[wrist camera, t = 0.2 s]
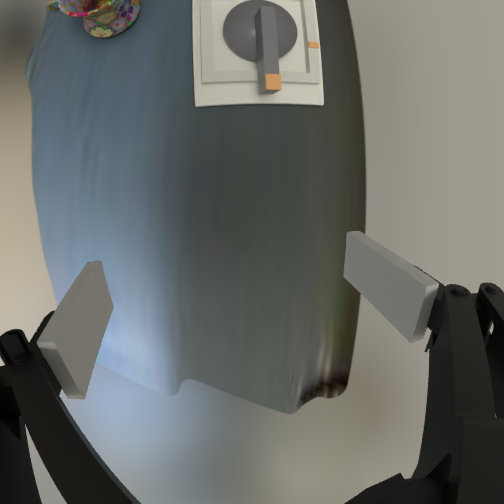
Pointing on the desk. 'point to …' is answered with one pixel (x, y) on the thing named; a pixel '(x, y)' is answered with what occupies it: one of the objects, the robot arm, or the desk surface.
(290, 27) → the dial
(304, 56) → the panel
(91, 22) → the mug
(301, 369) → the desk surface
